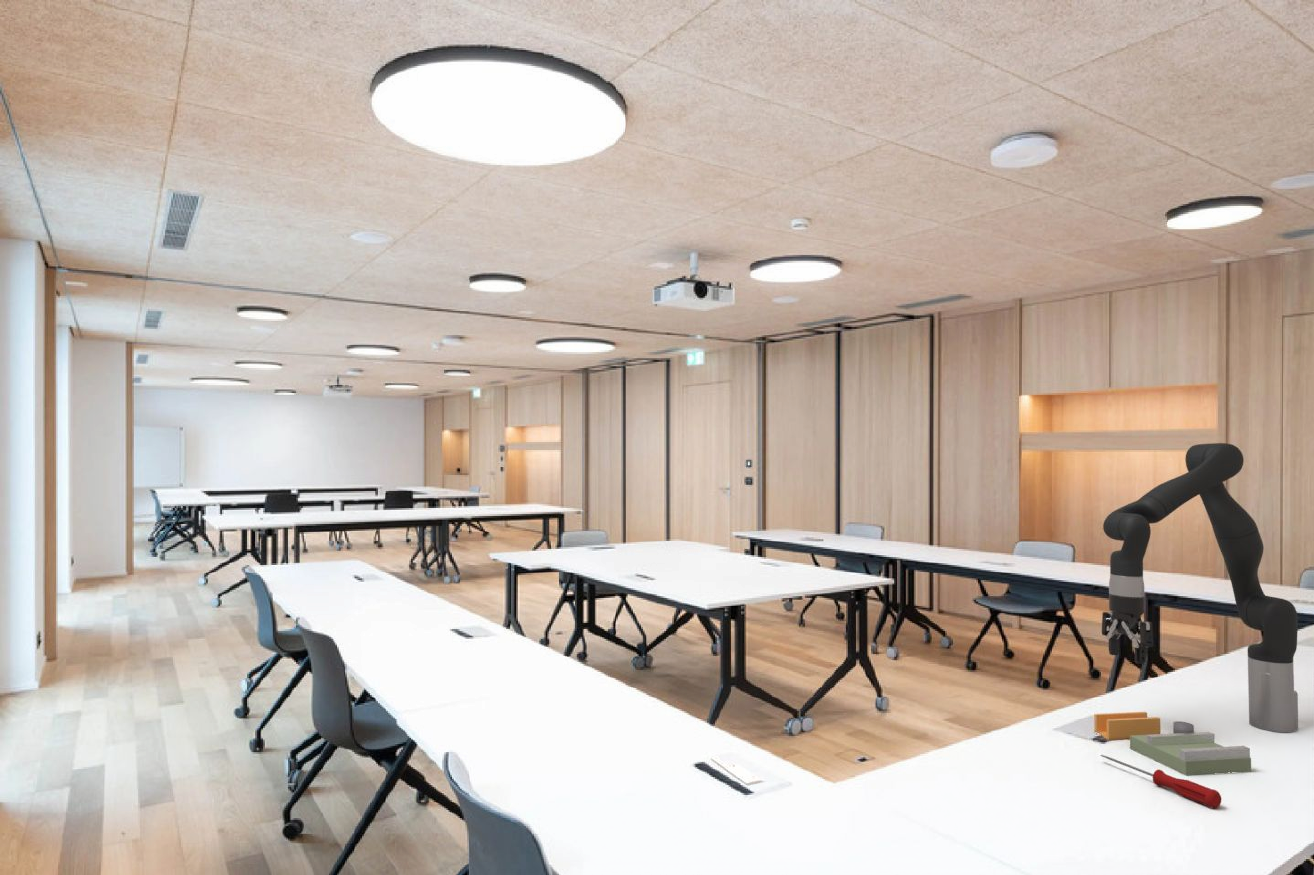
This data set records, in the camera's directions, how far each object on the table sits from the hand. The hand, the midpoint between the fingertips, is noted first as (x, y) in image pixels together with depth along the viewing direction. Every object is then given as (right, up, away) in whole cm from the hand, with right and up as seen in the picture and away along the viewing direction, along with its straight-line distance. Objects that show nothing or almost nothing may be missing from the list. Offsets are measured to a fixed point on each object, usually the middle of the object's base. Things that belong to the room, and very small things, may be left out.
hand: (1126, 658), depth 190 cm
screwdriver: (-12, -18, -30) cm, 37 cm away
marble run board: (+4, -18, -16) cm, 25 cm away
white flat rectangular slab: (-99, -18, -24) cm, 104 cm away
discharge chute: (0, -19, -1) cm, 19 cm away
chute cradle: (+4, -15, -19) cm, 24 cm away
